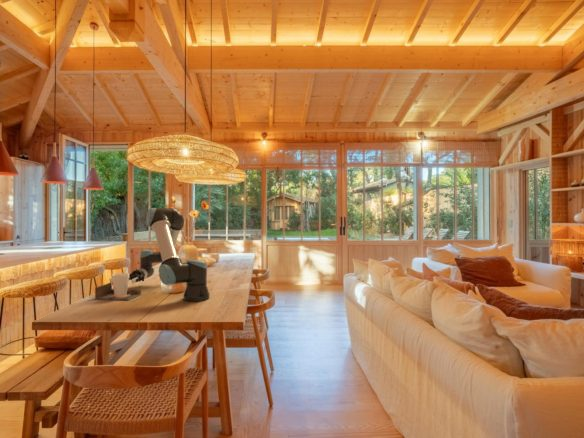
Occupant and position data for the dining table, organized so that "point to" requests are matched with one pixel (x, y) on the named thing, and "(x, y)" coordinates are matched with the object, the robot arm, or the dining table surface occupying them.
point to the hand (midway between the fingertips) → (121, 281)
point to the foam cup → (120, 284)
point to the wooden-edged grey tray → (108, 293)
